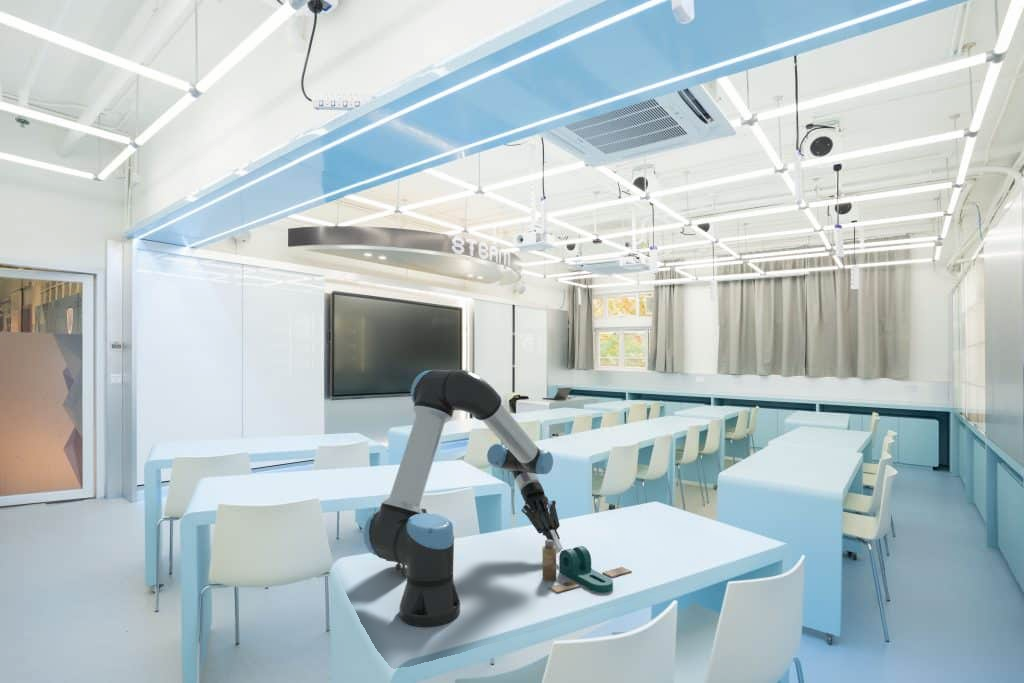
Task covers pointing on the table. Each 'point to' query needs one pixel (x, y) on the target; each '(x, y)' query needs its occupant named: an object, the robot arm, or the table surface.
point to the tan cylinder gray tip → (549, 561)
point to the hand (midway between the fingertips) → (558, 550)
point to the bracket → (583, 570)
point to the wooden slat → (572, 585)
